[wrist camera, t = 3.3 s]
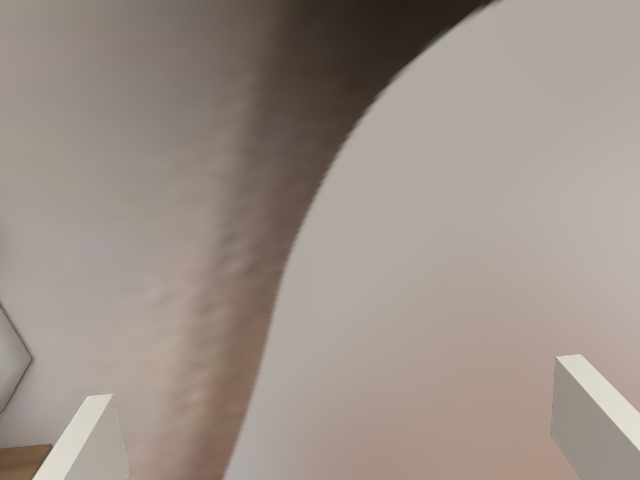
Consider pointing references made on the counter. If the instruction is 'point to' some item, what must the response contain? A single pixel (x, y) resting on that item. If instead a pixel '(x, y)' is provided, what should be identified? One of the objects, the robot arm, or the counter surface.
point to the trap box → (22, 461)
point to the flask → (10, 360)
